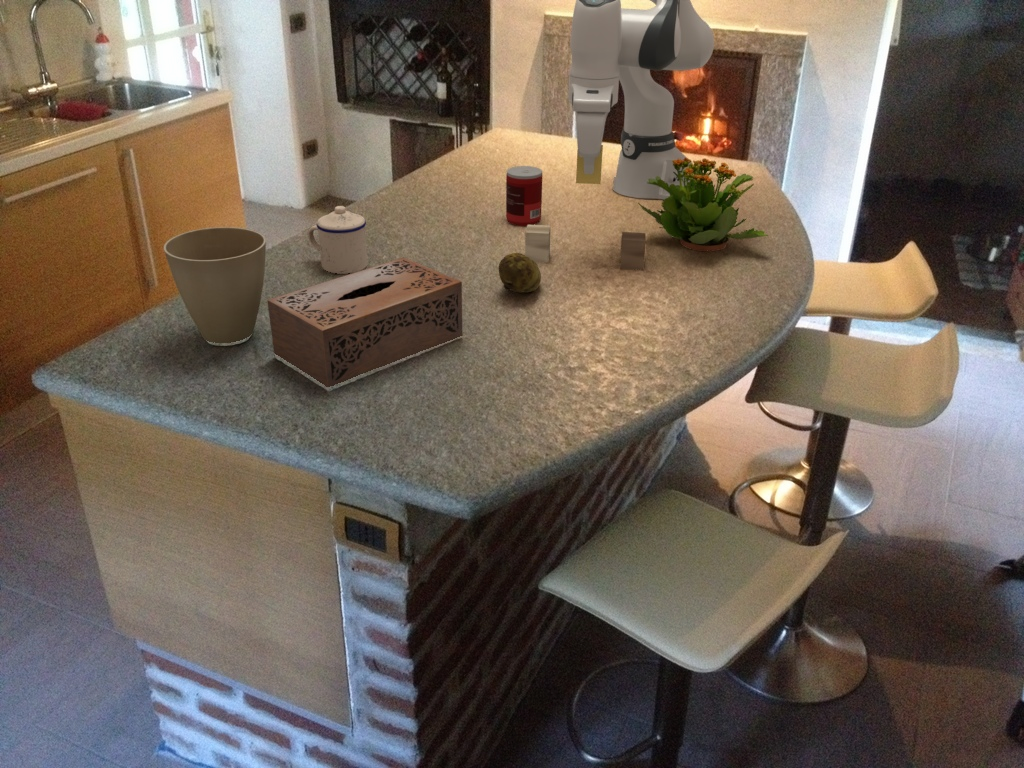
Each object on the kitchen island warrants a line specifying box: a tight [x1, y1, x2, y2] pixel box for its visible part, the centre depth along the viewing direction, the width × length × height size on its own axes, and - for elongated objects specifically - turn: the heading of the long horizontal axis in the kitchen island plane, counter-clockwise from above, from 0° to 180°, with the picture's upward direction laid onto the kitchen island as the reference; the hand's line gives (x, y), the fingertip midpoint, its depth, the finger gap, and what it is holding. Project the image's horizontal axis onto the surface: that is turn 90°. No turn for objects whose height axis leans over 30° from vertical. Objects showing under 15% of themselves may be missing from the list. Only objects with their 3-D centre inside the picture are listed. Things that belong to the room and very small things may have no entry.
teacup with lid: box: [307, 205, 368, 275], centre depth 168 cm, size 12×9×12 cm
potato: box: [498, 252, 542, 294], centre depth 159 cm, size 8×13×8 cm, turn 151°
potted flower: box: [637, 156, 769, 253], centre depth 179 cm, size 25×24×18 cm
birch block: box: [524, 224, 552, 264], centre depth 174 cm, size 4×4×6 cm
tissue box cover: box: [266, 257, 464, 387], centre depth 139 cm, size 26×14×10 cm, turn 134°
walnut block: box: [619, 231, 647, 272], centre depth 171 cm, size 4×4×6 cm
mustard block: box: [575, 144, 604, 185], centre depth 165 cm, size 4×4×6 cm
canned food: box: [505, 165, 543, 227], centre depth 193 cm, size 8×8×11 cm
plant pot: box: [163, 226, 267, 343], centre depth 140 cm, size 15×15×16 cm
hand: (589, 168), depth 165 cm, fingers closed on mustard block, 4 cm apart
